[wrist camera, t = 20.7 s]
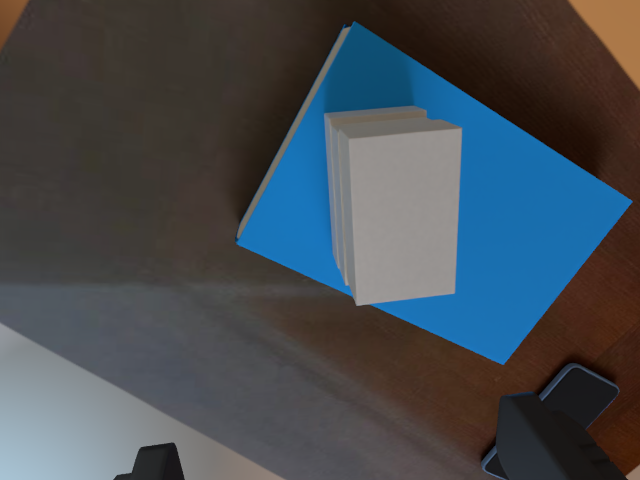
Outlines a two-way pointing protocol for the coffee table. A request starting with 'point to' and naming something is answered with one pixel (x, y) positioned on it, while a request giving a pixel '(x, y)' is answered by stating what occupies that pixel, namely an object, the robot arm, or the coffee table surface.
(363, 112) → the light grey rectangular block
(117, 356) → the coffee table surface
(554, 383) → the smartphone
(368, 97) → the book
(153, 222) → the coffee table surface
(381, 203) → the light grey block
